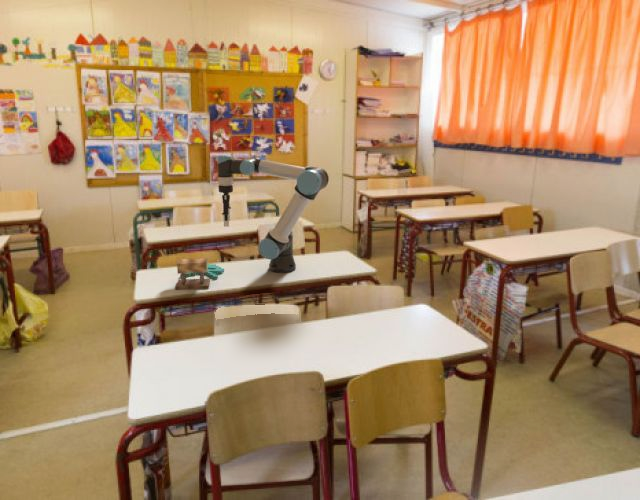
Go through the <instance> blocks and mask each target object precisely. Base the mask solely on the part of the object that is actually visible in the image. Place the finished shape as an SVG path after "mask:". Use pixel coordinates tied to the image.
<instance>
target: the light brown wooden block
mask: <svg viewBox="0 0 640 500" xmlns="http://www.w3.org/2000/svg"><path fill="white" fill-rule="evenodd" d="M207 264H208V259H207V258H206V257H201V258H178V260H177V263H176V267H177V268H176V269H177V275H178V274H179V275H180V274H181V273H204V272H207Z"/></svg>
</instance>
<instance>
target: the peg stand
mask: <svg viewBox="0 0 640 500" xmlns="http://www.w3.org/2000/svg"><path fill="white" fill-rule="evenodd" d="M181 277H182V278H180V279H178V280H177V282H176V285H175V290H176V291H177V290H178V291H179V290H204V289H205V290H208V289H210V284H211V278H210V277H209V278H205V275H204V273H200V275H199V278H188V279H187V277H186V273H181Z"/></svg>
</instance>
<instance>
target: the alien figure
mask: <svg viewBox="0 0 640 500" xmlns="http://www.w3.org/2000/svg"><path fill="white" fill-rule="evenodd" d="M224 272H225V268H222V267H221V266H219V265H217V264H214V263H213V264H212V263H207V272H204V276H207V277H209V278H210V279H212V280H213V281H214V280H218V279H219V275H223V273H224ZM199 274H200V273H186V278H190V277H191V276H193V277H194V276H195V277H196V276H197V275H199ZM179 278H180V279H182V277H181V274H179Z"/></svg>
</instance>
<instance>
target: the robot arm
mask: <svg viewBox="0 0 640 500" xmlns="http://www.w3.org/2000/svg"><path fill="white" fill-rule="evenodd" d="M216 166H217V178H216V179H217V182H218V183H217V184H218V185H217V186H218V192H219V193H223V194H222V195H221V199H222V205H223V206H222V207H223V208H222V210H223V212H222V213H221V215H222V216H223V227H225V228H226V227H230V221H231V214H230V213H231V209H232V207H231V206H230V199H231V195H230V194H231V193H232V192H234V187H233V186H234V185H233V184H234V183H233V182H234V181H233V179H234V178H233V175H243V176H247V175H248V176H251V175H253V174H254V173H256V174H257V173H258V174H260V175H266V176H271V177H277V178H283V179H287V180H292V181H295V182H296V185H295V186H294V194H293V196H292V197H291V199H290V201H289V202H288V204H287V206H286V207H285V209H284V211H283V213H282V214H281V216H280V217H279V219H278V221H277V222H276V225H275V226H274V227H273V228H270V229H269V230H268V232H267V234H266V235H265V237H264V238H263V239H262V240H260V242H259V243H258V251H259V254H260V255H261V257H262V258H264V259H266V260H269V263H268V269H269V271H271V272H275V273H289V272H293V271H295V270H296V269H297V264H296V261H295V257H294V254H293V253H294V252H293V250H294V249H293V248H294V246H293V245H294V243H293V241H294V240H293V239H294V235H293V229H294V228H295V226H296V225H297V223H298V221H299V220H300V218H301V216H302V215H303V213H304V211H305V210H306V208H307V206H308V205H309V203H310V202H311V201H315V199H316V197H317V196H318V194H319V193H320V191H321V190H324V189H325V188H326V187H327V186H328V183H329V180H330V178H329V174H328V172H327V170H325V168H322V167H316V166H315V167H314V166H309V165H306V166H305V167H304V166H298V165H292V164H287V163H283V162H277V161H272V160H266V159H261V158H260V157H256V156H255V157H254V156H253V157H249V158H244V159H233V157H232V155H231V154H230V155H229V154H219V155H218V156H217V164H216Z"/></svg>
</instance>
